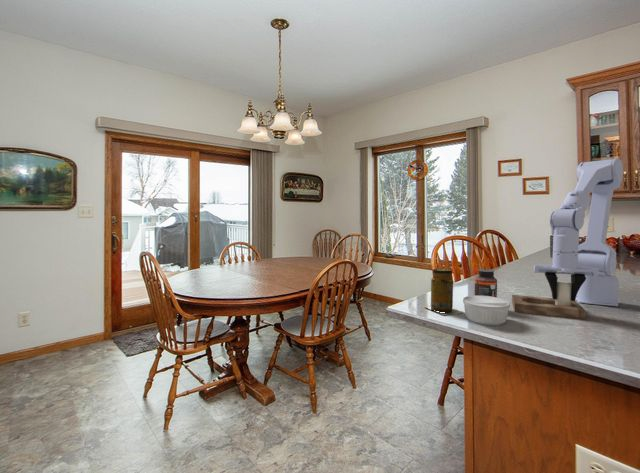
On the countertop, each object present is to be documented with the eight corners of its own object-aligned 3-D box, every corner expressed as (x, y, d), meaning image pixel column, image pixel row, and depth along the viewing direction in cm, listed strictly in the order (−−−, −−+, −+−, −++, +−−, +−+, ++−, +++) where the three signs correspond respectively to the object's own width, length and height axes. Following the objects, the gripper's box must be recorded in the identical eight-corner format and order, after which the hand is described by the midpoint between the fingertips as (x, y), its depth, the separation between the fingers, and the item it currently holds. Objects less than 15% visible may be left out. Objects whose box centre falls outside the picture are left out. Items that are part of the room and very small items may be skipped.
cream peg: (569, 309, 94) (570, 282, 93) (571, 313, 90) (573, 284, 90) (554, 308, 95) (555, 281, 95) (555, 311, 92) (557, 283, 92)
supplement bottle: (499, 311, 94) (500, 272, 93) (477, 310, 95) (478, 271, 94) (492, 305, 100) (493, 268, 99) (471, 304, 101) (472, 268, 100)
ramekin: (488, 329, 79) (489, 308, 79) (453, 316, 90) (453, 297, 89) (519, 323, 84) (520, 303, 84) (482, 311, 94) (482, 293, 94)
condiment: (443, 305, 100) (443, 266, 100) (464, 313, 93) (464, 271, 92) (423, 308, 98) (424, 268, 97) (443, 316, 90) (443, 273, 89)
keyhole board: (574, 308, 96) (574, 300, 96) (584, 319, 86) (585, 310, 86) (511, 302, 103) (511, 294, 103) (514, 311, 93) (514, 303, 93)
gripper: (536, 252, 91) (534, 299, 92) (603, 254, 85) (600, 305, 86) (533, 249, 97) (531, 294, 98) (594, 251, 91) (592, 299, 92)
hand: (563, 299), depth 92 cm, fingers closed on cream peg, 4 cm apart
